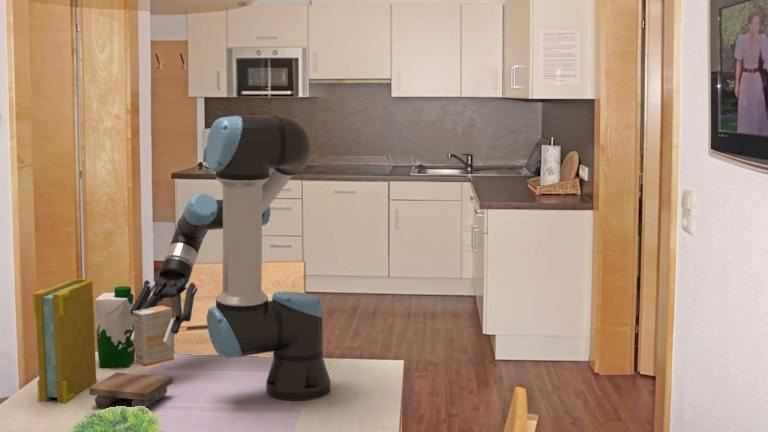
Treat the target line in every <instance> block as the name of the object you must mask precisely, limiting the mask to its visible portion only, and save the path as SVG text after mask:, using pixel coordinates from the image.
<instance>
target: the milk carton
mask: <svg viewBox="0 0 768 432" xmlns="http://www.w3.org/2000/svg"><path fill="white" fill-rule="evenodd" d="M94 303H95V317H96V318H95V319H96V322H95V323H96V344H97V345H96V348H97V355H98V357H97V358H98V364H99V368H100V369H105V368H108V369H110V368H111V369H112V368H114V369H115V368H116V369H117V368H118V369H128V367H129V366H130V365H131V364H132V363H133V362H134V361H136V360H135V345H134V344H133V342H132V341H131V340H130V339H131V336H132V333H133V331H134V330H133V329H132V326H133V316H132V315H131V313H130V310H131V309H132V307H133V305H134V303H135V293H134V292H132V288H131V287H130V286H126V285H125V286H124V285H123V286H117V287H114V292H104V293H102V294H101V295H99V296H97V298H95V299H94Z"/></svg>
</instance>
